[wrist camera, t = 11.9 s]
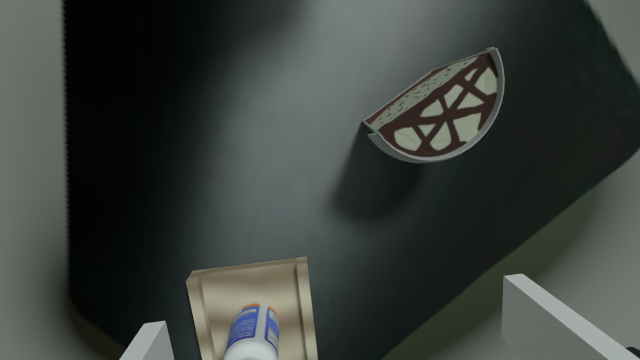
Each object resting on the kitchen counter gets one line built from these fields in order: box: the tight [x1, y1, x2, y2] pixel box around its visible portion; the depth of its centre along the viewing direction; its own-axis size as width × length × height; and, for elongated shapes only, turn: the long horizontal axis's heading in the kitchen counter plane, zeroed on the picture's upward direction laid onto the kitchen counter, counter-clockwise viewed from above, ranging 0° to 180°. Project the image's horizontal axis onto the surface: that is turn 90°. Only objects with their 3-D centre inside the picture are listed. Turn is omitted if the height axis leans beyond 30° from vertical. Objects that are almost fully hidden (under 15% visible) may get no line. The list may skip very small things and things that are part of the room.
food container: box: [362, 47, 504, 163], centre depth 31 cm, size 12×6×10 cm, turn 126°
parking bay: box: [186, 257, 318, 360], centre depth 38 cm, size 15×13×4 cm
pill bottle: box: [223, 301, 280, 360], centre depth 34 cm, size 5×5×10 cm
